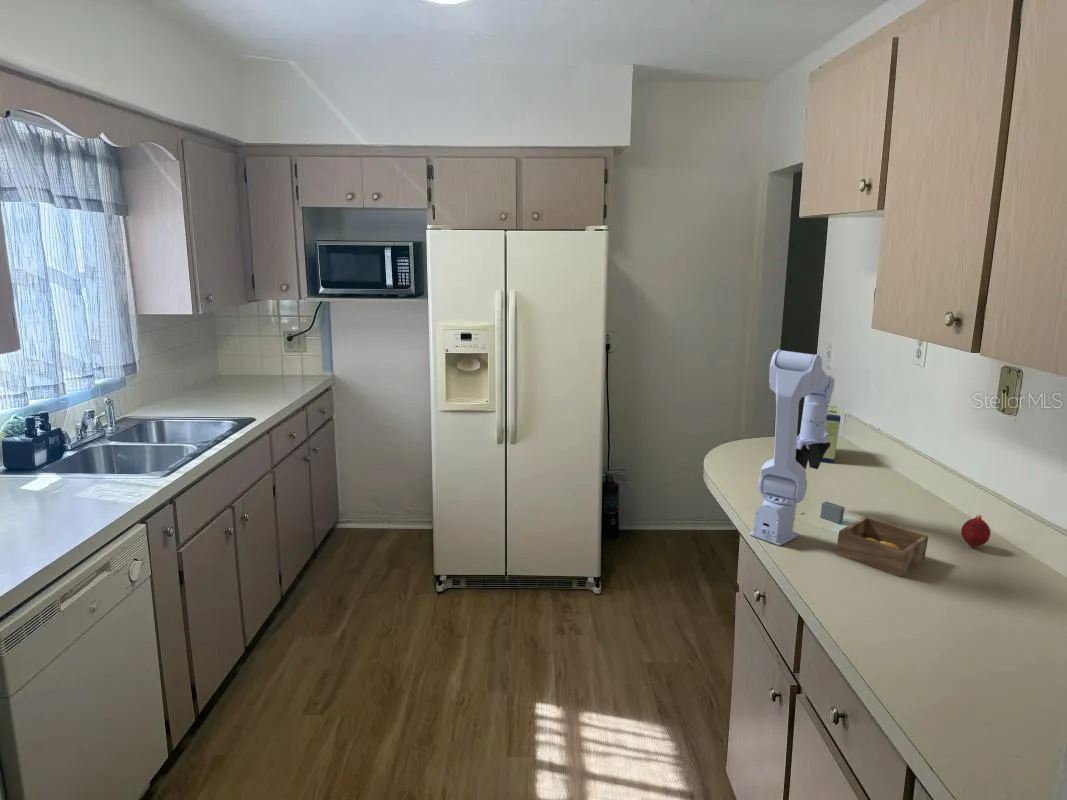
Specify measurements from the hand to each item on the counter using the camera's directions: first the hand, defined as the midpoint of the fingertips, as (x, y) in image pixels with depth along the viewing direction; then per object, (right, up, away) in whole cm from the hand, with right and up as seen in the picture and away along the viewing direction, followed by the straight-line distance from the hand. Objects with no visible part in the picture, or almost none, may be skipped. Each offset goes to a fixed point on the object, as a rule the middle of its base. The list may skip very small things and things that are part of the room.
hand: (806, 470), depth 186 cm
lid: (+4, -13, -4) cm, 14 cm away
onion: (+33, -16, -17) cm, 40 cm away
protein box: (+23, 0, +52) cm, 57 cm away
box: (+7, -17, -24) cm, 31 cm away
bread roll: (+7, -17, -24) cm, 30 cm away
